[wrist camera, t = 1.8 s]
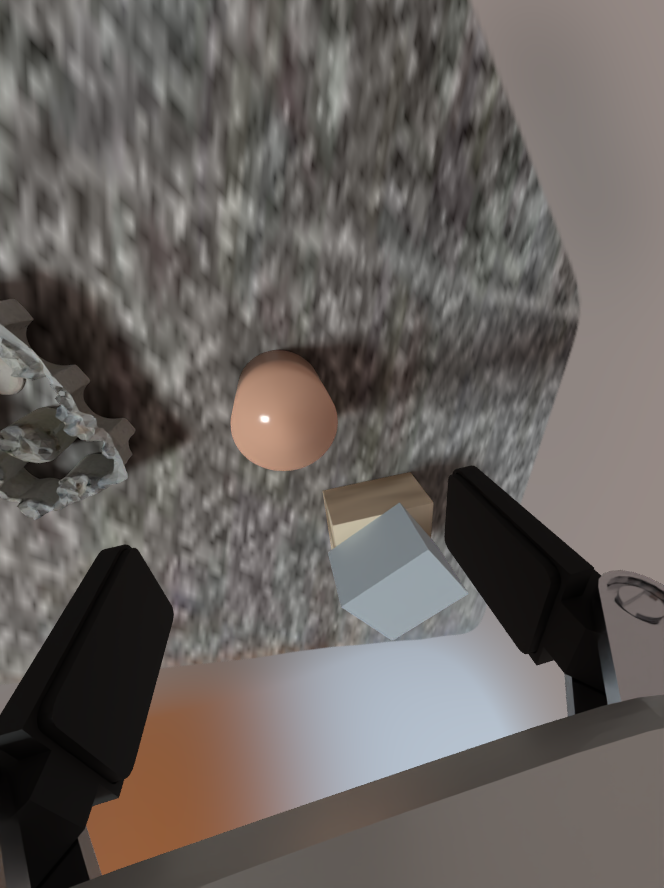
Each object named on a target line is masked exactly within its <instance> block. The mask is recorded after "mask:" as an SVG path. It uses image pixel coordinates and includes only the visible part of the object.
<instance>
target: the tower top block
mask: <svg viewBox="0 0 664 888" xmlns="http://www.w3.org/2000/svg"><path fill="white" fill-rule="evenodd" d="M328 555H329V559H330V563H331V567H332V571H333V575H334V579H335V584H336V588H337V592H338V596H339V600H340V604H341V607H342V608H344V609H345V610H347V611H348V612H350V613H351V614H353V615H354V616H356V617H357V618H359V619H360V620H362V621H363V622H365V623H366V624H368V625H369V626H371V627H372V628H374V629H375V630H377V631H378V632H380V633H381V634H383V635H384V636H386V637H387V638H389V639H390V640H392V641H393V640H394V639H396V638H398V637H399V636H401V635H402V634H404V633H406V632H407V631H409V630H410V629H412V628H414V627H415V626H417V625H419V624H420V623H422V622H423V621H425V620H427V619H428V618H430V617H432V616H433V615H435V614H436V613H438V612H440V611H441V610H443V609H444V608H446V607H448V606H449V605H451V604H453V603H454V602H456V601H457V600H459V599H461V598H462V597H464V596H466V595H467V594H469V593H468V592H467V590H466V589H465V587H464V586H463V584H462V583H461V581H460V580H459V578H458V576H457V575H456V573H455V572H454V570H453V569H452V567H451V566H450V564H449V563H448V561H447V560H446V558H445V556H444V555H443V553H442V552H441V550H440V549H439V547H438V546H437V545H436V543H435V542H434V541H433V540H432V539H431V538H430V537H429V535H428V534H427V533H426V532H425V531H424V530H423V529H422V527H421V526H420V525H419V524H418V523H417V522H416V520H415V519H414V518H413V517H412V516H411V515H410V514H409V512H408V511H407V510H406V509H405V508H404V507H403V505H402V504H401V503H398V504H397V505H395V506H394V507H392V508H391V509H389V510H388V511H387V512H385V513H384V514H382V515H381V516H379V517H378V518H377V519H375V520H374V521H372V522H371V523H369V524H368V525H367V526H365V527H364V528H362V529H361V530H359V531H358V532H357V533H355V534H354V535H352V536H351V537H349V538H348V539H346V540H345V541H344V542H342V543H341V544H339V545H338V546H336V547H335V548H334V549H332V550H331V551H329V552H328Z"/></svg>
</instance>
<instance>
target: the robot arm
mask: <svg viewBox="0 0 664 888" xmlns="http://www.w3.org/2000/svg"><path fill="white" fill-rule="evenodd" d="M444 537H445V543H446V545H447V548H448V549H449V551H450V552H451V553H452V555H453V556H454V558H455V559H456V561H457V562H458V563H459V565H460V566H461V568H462V569H463V571H464V572H465V573H466V575H467V576H468V578H469V579H470V581H471V582H472V583H473V585H474V586H475V588H476V589H477V591H478V592H479V593H480V595H481V596H482V598H483V599H484V600H485V602H486V603H487V605H488V606H489V608H490V609H491V610H492V612H493V613H494V615H495V616H496V617H497V619H498V620H499V622H500V623H501V624H502V626H503V627H504V629H505V630H506V632H507V633H508V634H509V636H510V637H511V639H512V640H513V642H514V643H515V644H516V646H517V647H518V649H519V650H520V651H521V652H522V653H524V654H529V655H530V657H531V658H532V660H533V661H534V663H535V664H536V665H540V664H543V663H546V662H550V661H553V660H554V661H555V662H556V663H557V664H558V666H559V667H560V668H561V669H562V671H563V672H564V674H565V687H566V700H567V712H568V717H566V718H563V719H559V720H556V721H553V722H549V723H546V724H543V725H540V726H536V727H533V728H530V729H527V730H525V731H521V732H518V733H515V734H513V735H509V736H506V737H503V738H501V739H498V740H495V741H492V742H489V743H486V744H483V745H480V746H477V747H474V748H471V749H468V750H465V751H462V752H459V753H456V754H453V755H450V756H447V757H444V758H441V759H438V760H435V761H432V762H429V763H426V764H423V765H420V766H417V767H414V768H411V769H408V770H405V771H402V772H400V773H397V774H394V775H391V776H388V777H385V778H382V779H379V780H376V781H373V782H370V783H367V784H364V785H361V786H358V787H355V788H352V789H350V790H347V791H344V792H341V793H338V794H335V795H332V796H329V797H326V798H323V799H320V800H317V801H315V802H312V803H309V804H306V805H303V806H300V807H297V808H294V809H291V810H288V811H285V812H283V813H280V814H277V815H274V816H271V817H268V818H265V819H262V820H259V821H256V822H253V823H251V824H248V825H245V826H242V827H239V828H236V829H233V830H230V831H227V832H224V833H222V834H219V835H216V836H213V837H210V838H207V839H204V840H201V841H199V842H196V843H193V844H190V845H187V846H184V847H182V848H178V849H175V850H173V851H170V852H167V853H164V854H161V855H158V856H155V857H153V858H150V859H147V860H144V861H141V862H138V863H135V864H132V865H130V866H127V867H124V868H121V869H118V870H116V871H113V872H110V873H108V874H105V875H101V871H100V868H99V865H98V862H97V859H96V855H95V853H94V849H93V846H92V843H91V840H90V837H89V834H88V830H87V828H86V824H87V821H88V818H89V814H90V812H91V808H92V806H95V805H98V804H101V803H104V802H107V801H110V800H114V799H117V798H119V796H120V792H121V789H122V785H123V781H124V779H126V778H127V777H128V776H129V775H130V773H131V771H132V769H133V766H134V763H135V759H136V756H137V752H138V749H139V745H140V741H141V737H142V734H143V730H144V726H145V722H146V719H147V715H148V711H149V707H150V704H151V700H152V696H153V692H154V689H155V685H156V681H157V678H158V674H159V670H160V667H161V663H162V659H163V655H164V652H165V648H166V644H167V641H168V637H169V633H170V629H171V626H172V622H173V616H174V613H173V608H172V605H171V604H170V602H169V600H168V599H167V597H166V595H165V594H164V592H163V590H162V589H161V587H160V585H159V584H158V582H157V580H156V579H155V577H154V575H153V574H152V572H151V571H150V569H149V567H148V566H147V564H146V562H145V561H144V559H143V557H142V556H141V554H140V552H139V551H138V550H137V549H136V548H131V547H130V546H129V545H121V546H116V547H112V548H108V549H104V550H102V551H101V552H100V553H99V554H98V556H97V557H96V559H95V561H94V562H93V564H92V566H91V567H90V569H89V570H88V572H87V574H86V575H85V577H84V579H83V580H82V582H81V584H80V585H79V587H78V588H77V590H76V592H75V593H74V595H73V597H72V598H71V600H70V602H69V603H68V605H67V606H66V608H65V610H64V611H63V613H62V615H61V616H60V618H59V620H58V621H57V623H56V624H55V626H54V628H53V629H52V631H51V633H50V634H49V636H48V638H47V639H46V641H45V642H44V644H43V646H42V647H41V649H40V651H39V652H38V654H37V656H36V657H35V659H34V660H33V662H32V664H31V665H30V667H29V669H28V670H27V672H26V673H25V675H24V677H23V678H22V680H21V682H20V683H19V685H18V687H17V688H16V690H15V692H14V693H13V695H12V696H11V698H10V700H9V701H8V703H7V705H6V706H5V708H4V709H3V711H2V713H1V715H0V888H664V585H663V584H661V583H659V582H657V581H655V580H653V579H651V578H648V577H646V576H643V575H640V574H637V573H634V572H629V571H623V570H617V571H609V572H607V573H604V574H603V575H602V576H601V575H600V574H599V573H598V572H596V571H595V570H594V567H593V566H592V565H590V564H589V563H588V562H587V561H585V559H583V558H582V557H581V556H580V555H579V554H578V553H576V552H575V551H574V550H573V549H572V548H570V547H569V546H568V545H567V544H566V543H565V542H563V541H562V540H561V539H560V538H559V537H558V536H556V535H555V534H554V533H553V532H552V531H551V530H549V529H548V528H547V527H546V526H545V525H543V524H542V523H541V522H540V521H539V520H537V519H536V518H535V517H534V516H533V515H532V514H531V513H529V512H528V511H527V510H526V509H525V508H524V507H522V506H521V505H520V504H519V503H518V502H517V501H515V500H514V499H513V498H512V497H511V496H510V495H508V494H507V493H506V492H505V491H504V490H503V489H501V488H500V487H499V486H498V485H497V484H495V483H494V482H493V481H492V480H491V479H490V478H488V477H487V476H486V475H485V474H484V473H483V472H481V471H480V470H479V469H478V468H477V467H475V466H468V467H464V468H459V469H456V470H454V471H453V475H450V476H449V479H448V493H447V507H446V522H445V536H444Z"/></svg>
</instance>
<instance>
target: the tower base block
mask: <svg viewBox="0 0 664 888" xmlns="http://www.w3.org/2000/svg"><path fill="white" fill-rule="evenodd" d="M323 496H324V503H325V509H326V516H327V523H328V529H329V536H330V542H331V549H334V548H335V547H336V546H338V545H339V544H341V543H342V542H344V541H345V540H346V539H348V538H349V537H351V536H352V535H354V534H355V533H357V532H358V531H359V530H361V529H362V528H364V527H365V526H367V525H368V524H369V523H371V522H372V521H374V520H375V519H377V518H378V517H379V516H381V515H382V514H384V513H385V512H387V511H388V510H389V509H391V508H392V507H394V506H395V505H397V504H398V503H401V504H402V505H403V507H404V508H405V509H406V510H407V511H408V512H409V514H410V515H411V516H412V517H413V518H414V519H415V520H416V522H417V523H418V524H419V525H420V526H421V527H422V529H423V530H424V531H425V532H426V533H427V534H428V535H429V537H430V538H431V528H432V516H433V504H434V503H433V501H432V500H431V499H430V497H429V496H428V495H427V493H426V492H425V491H424V489H423V488H422V487H421V486H420V484H419V483H418V482H417V480H416V479H415V478H414V476H413V475H412V474H411V472H408V473H404V474H399V475H394V476H390V477H385V478H380V479H376V480H371V481H366V482H361V483H357V484H352V485H347V486H343V487H338V488H333V489H329V490H324V491H323Z"/></svg>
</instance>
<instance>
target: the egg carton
mask: <svg viewBox="0 0 664 888" xmlns="http://www.w3.org/2000/svg"><path fill="white" fill-rule="evenodd" d="M33 320H34V319H33V318H32V316H31V315H30V314H29V313H28V311H27V310H26V309H25V308H24V307H23V306H22V305H21V304H20V303H19V302H18V301H17V300H15V299H13V298H12V299H8V300H3V301H1V300H0V394H2V395H12V394H15V393H18V392H19V391H20V390H22V388H23V386H24V384H25V379H29V380H35V379H39V378H43V377H46V376H47V377H48V378H49V380H50V383H51V384H50V385H51V388H52V389H53V390H54V391H55V392H56V393H57V396H56V398H55V399H56V400H57V402H58V403H59V404H60V406H59V407H58V408H57V409H55V408H50V407H44V408H39V409H37V410H35V411H33V412H31V413H29V414H28V415H26V416H24V417H23V418H21V419H19V420H18V421H16V422H14V423H13V424H11V425H9V426H8V427H6V428H4V429H3V430H1V431H0V497H1V498H2V499H5V500H7V501H14V502H19V505H18V506H17V507H19V508H20V510H21V512H22V513H23V514H25V515H26V516H27V517H33V518H34V520H36V519H38V518H40V517H42V516H43V515H45V514H46V513H48V512H50V511H52V510H54V511H58V510H60V509H62V508H64V507H66V506H67V505H69V504H71V503H73V502H76V501H80V500H82V499H84V498H86V497H88V496H91V495H94V494H98V493H99V492H101V491H102V490H104V489H106V488H107V487H109V486H110V485H113V484H117V483H120V482H122V481H124V480H125V479H127V478H128V476H127V472H126V469H125V466H124V465H125V464H126V463H127V461H128V459H129V458H130V457H131V456H132V455H133V454H132V452H131V450H130V448H129V442H128V441H129V439H130V437H131V436H132V435H133V434H134V433H135V431H136V430H135V428H134V427H133V426H132V425H131V424H130V423H129V422H128V421H127V419H125V418H117V419H110V418H104V417H101V416H99V415H97V414H95V413H94V412H93V411H92V410H91V409H90V408H89V407H88V406H87V405H86V403H85V401H84V398H83V392H84V389H85V387H86V385H87V384H89V382H90V379H89V378H88V377H87V376H86V375H85V374H84V373H83V371H82V370H81V369H80V368H79V367H78V366H77V365H64V366H62V365H55V364H52V363H49V362H47V361H45V360H44V359H42V358H41V357H39V356H38V355H37V354H36V353H35V352H34V351H33V350H32V349H31V347H30V345H29V343H28V341H27V337H26V330H27V327H28V325H29V324H30V323H31V322H32V321H33ZM24 378H25V379H24ZM60 390H61V391H64V392H65V396H60V395H59V394H58V392H59V391H60ZM77 437H79V438H80V439H81V440H86V441H87V442H90V441H100V440H101V441H103V443H104V445H103V447H102V450H103V451H102V454H90V455H87V456H85V457H84V458H83V459H82V460H81V461H80V462H79V463H78V464H77V465H76V466H75V468H74V469H73V470H72V471H71V472H70V473H69V474H68V475H67V476H66V477H64V478H63V479H62V480H60V479H56V478H44V479H38V478H36V477H35V476H33V475H32V474H30V473H29V472H28V471H27V470H26V469H25V468H24V466H25V465H26V464H27V462H35V463H43V462H49V461H52V460H54V459H56V458H57V457H58V456H59V454H61V453H62V452H63V451H64V450H65V449H66V448H67V447H68V446H69V445H70V444H72V443H73V442H74V441H75V440H76V438H77Z"/></svg>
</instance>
